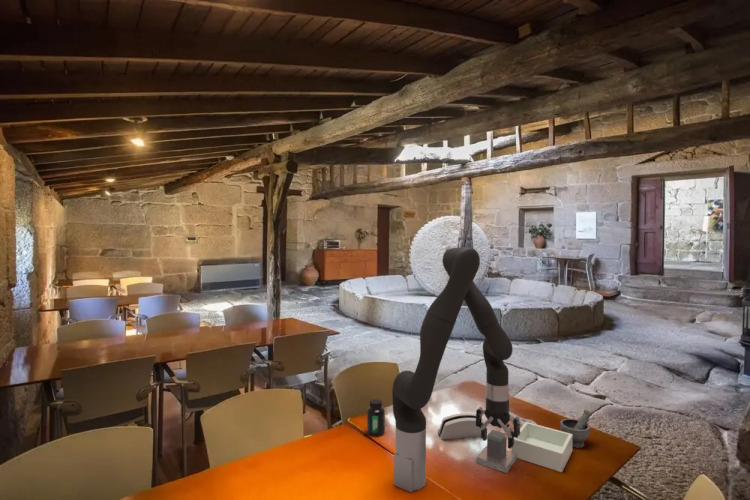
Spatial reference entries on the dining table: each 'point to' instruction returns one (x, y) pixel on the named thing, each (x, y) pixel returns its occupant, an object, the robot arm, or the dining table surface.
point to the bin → (543, 446)
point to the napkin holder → (459, 426)
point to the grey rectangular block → (496, 444)
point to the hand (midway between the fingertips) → (497, 443)
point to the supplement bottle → (375, 418)
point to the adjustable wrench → (521, 419)
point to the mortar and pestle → (577, 428)
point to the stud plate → (495, 463)
